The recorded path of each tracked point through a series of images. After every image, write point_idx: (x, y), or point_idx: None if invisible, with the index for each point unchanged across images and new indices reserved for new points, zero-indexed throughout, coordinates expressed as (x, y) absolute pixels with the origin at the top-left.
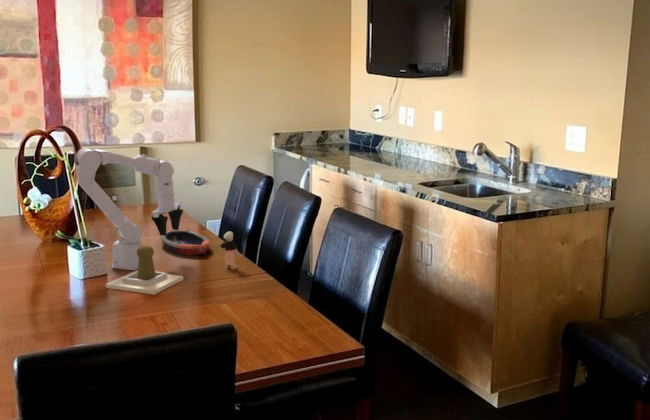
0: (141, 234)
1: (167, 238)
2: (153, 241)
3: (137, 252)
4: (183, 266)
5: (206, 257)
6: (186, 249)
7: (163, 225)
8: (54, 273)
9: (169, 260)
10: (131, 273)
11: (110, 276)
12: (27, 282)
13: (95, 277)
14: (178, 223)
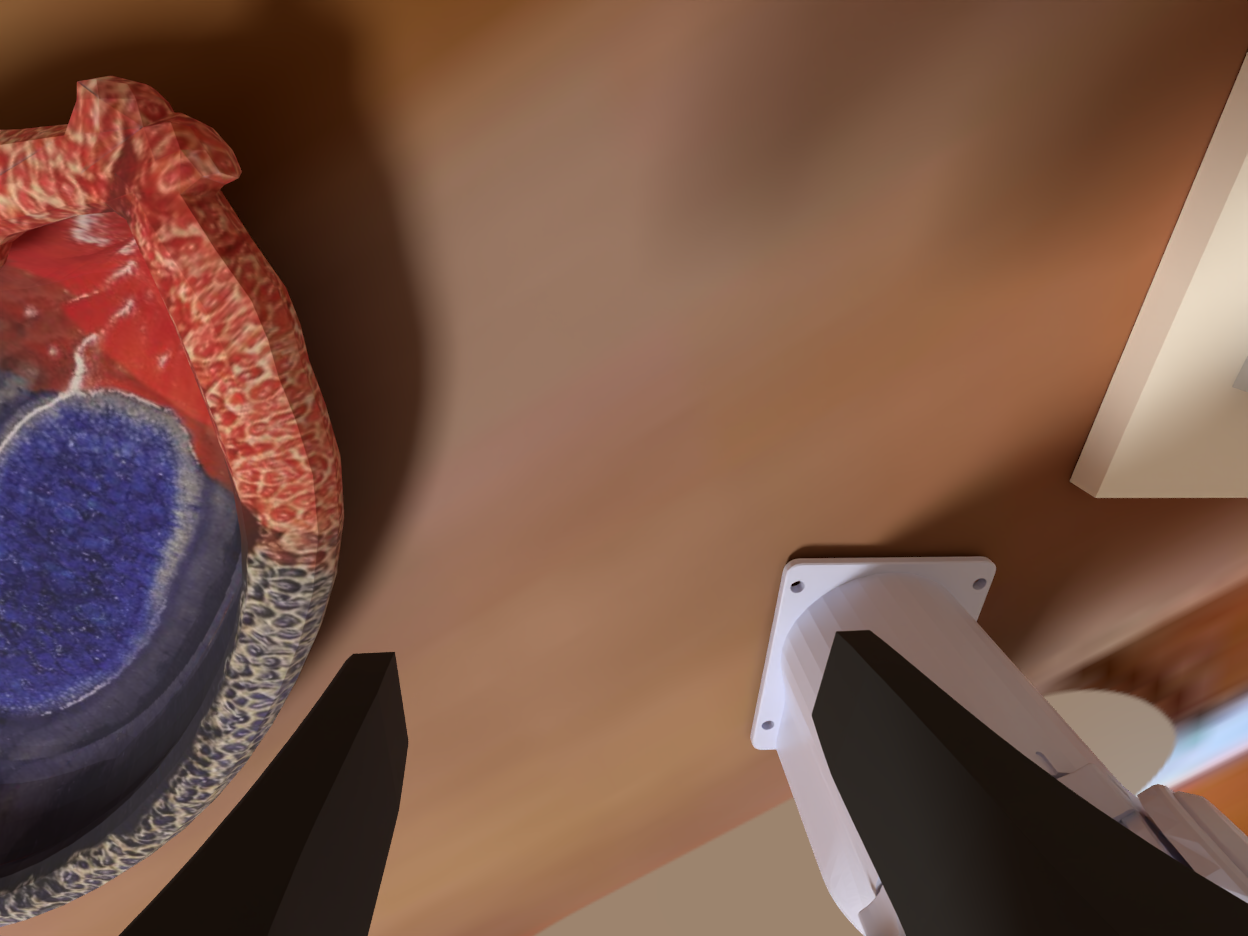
0: (1235, 864)
1: (18, 839)
2: (100, 896)
3: None
4: (754, 160)
5: (231, 64)
6: (319, 396)
7: (1121, 841)
8: None
9: (576, 459)
10: (1204, 483)
11: (1141, 619)
12: None
13: (1160, 686)
14: (323, 774)
